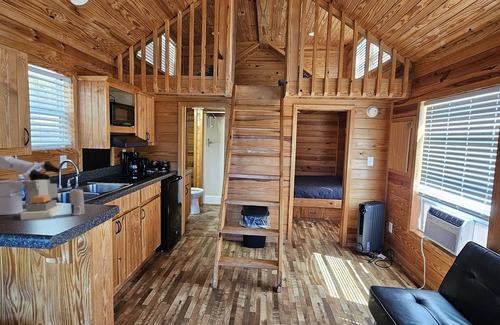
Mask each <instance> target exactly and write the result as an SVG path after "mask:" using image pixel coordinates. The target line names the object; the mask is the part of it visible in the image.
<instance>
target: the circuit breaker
mask: <svg viewBox="0 0 500 325" xmlns="http://www.w3.org/2000/svg"><path fill="white" fill-rule="evenodd" d="M50 179H51V178H50ZM50 179H49V180H34V181H31V180H30V179H25V180H23V184H24V189H23V190H25V200H24V205H25V207H26V205H28V204H30V203H32V197H35V196H38V195H50V200H53V199H55V198H58V197H59V192H58V190H59V188H58V183H51V180H50Z"/></svg>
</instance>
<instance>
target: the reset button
mask: <svg viewBox="0 0 500 325" xmlns="http://www.w3.org/2000/svg"><path fill="white" fill-rule="evenodd" d="M49 200H50V195H38V196H35V197H32V203H42V202H46V201H49Z"/></svg>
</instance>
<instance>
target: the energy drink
mask: <svg viewBox="0 0 500 325" xmlns="http://www.w3.org/2000/svg"><path fill="white" fill-rule="evenodd" d="M69 197H70V198H69V199H70V210H71V211H70V214H71V216H73V217H76V216H77V217H78V216H81V215H84V214H85V212H86V211H85V201H84V200H85V199H84V198H85V197H84V190H83V189H82V188H75V189H70V191H69Z"/></svg>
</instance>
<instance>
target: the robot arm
mask: <svg viewBox="0 0 500 325" xmlns="http://www.w3.org/2000/svg"><path fill="white" fill-rule="evenodd" d="M4 169H7V170H10V171H15V172H19V173H23V179H25V180H31V181H34V180H49V179H51V178H50V174H46V173H48V172H49V173H60V170H61V169H60V168H59V167H57V166H55V165H54V164H53V163H51V162H50V161H47V160H45V161H42V162H37V161H34V162H31V161H26V160H23V159H19V158H15V157H14V156H12V155H5V156H4V155H3V156H2V155H0V170H4ZM43 169H44V170H45V171H44V172H45V173H43V172H41V171H42V170H43ZM24 190H25V189H24V182H22V181H21V180H20V179H19V180H18V179H17V180H16V179H15V180H0V216H2V215H5V216H6V215H17V214H20V213H22V212H25V211H26V208H24V207H23V198H22V194H23V192H22V191H24Z"/></svg>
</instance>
